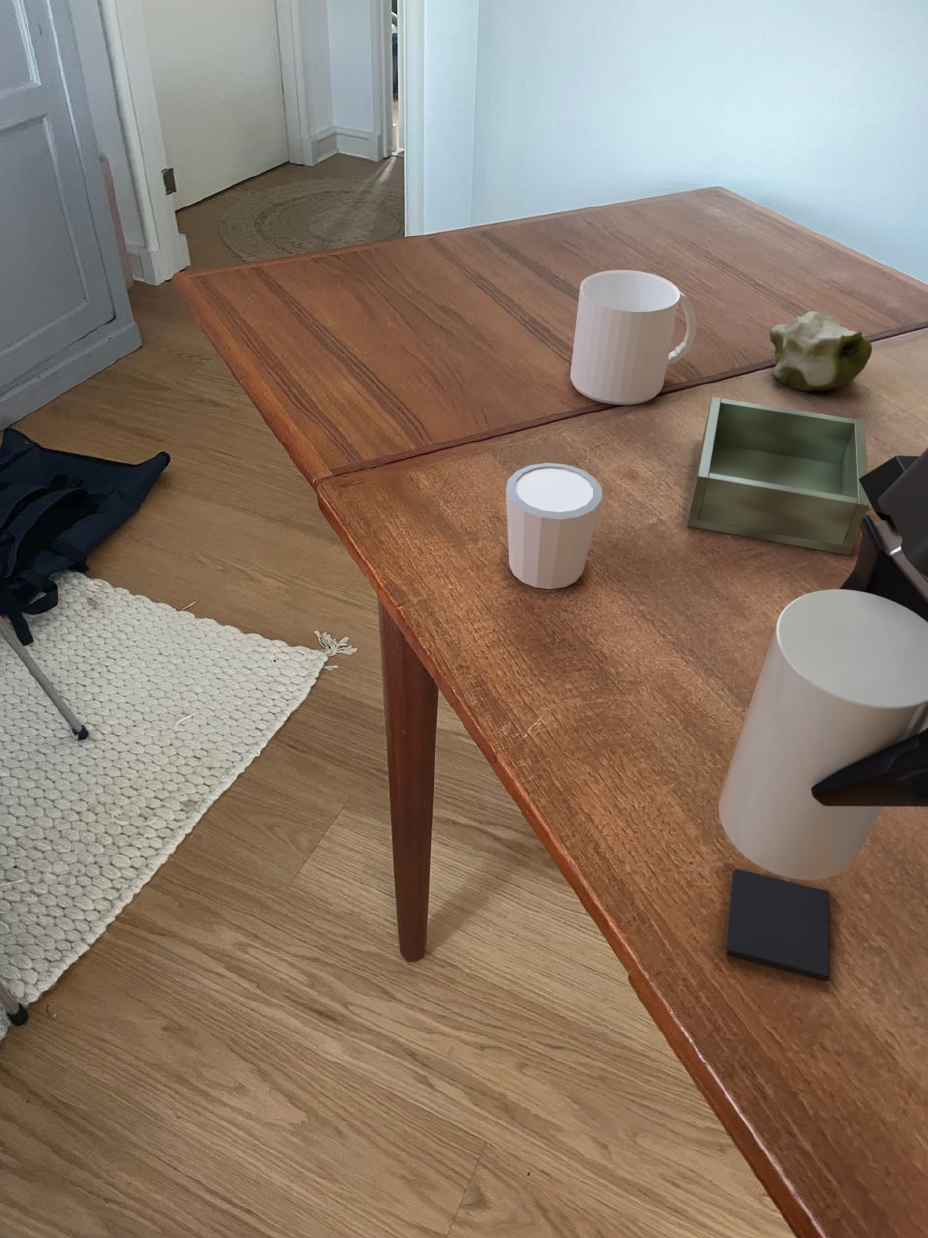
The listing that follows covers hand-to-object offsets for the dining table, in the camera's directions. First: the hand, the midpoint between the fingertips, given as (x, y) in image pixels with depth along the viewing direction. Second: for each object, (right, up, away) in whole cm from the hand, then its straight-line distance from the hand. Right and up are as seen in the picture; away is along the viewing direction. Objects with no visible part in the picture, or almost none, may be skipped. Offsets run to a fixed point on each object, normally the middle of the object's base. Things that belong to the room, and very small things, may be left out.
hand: (795, 730), depth 41 cm
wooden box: (+11, +15, +37) cm, 41 cm away
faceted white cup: (-8, +9, +30) cm, 32 cm away
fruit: (+20, +28, +52) cm, 62 cm away
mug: (+2, +28, +51) cm, 58 cm away
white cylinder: (+1, -5, +4) cm, 7 cm away
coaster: (+2, -11, +8) cm, 14 cm away
